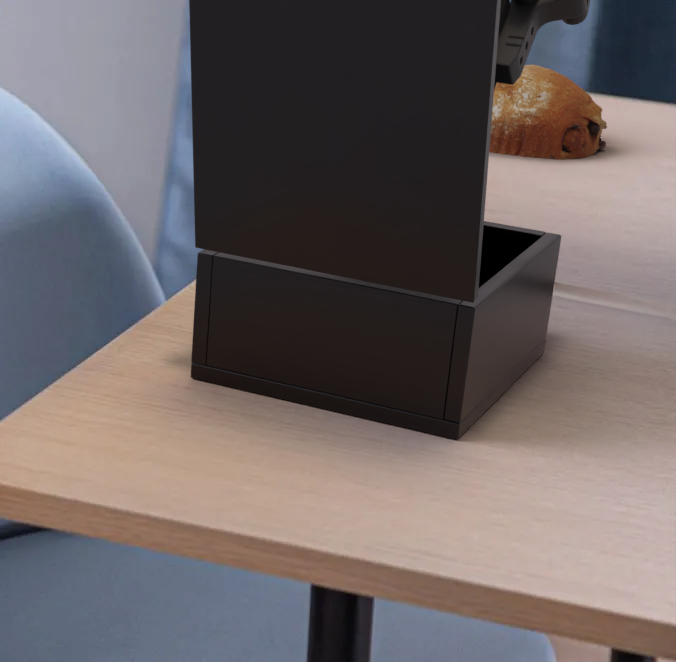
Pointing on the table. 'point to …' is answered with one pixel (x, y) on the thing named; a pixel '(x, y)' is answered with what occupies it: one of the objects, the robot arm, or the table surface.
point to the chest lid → (346, 136)
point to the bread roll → (545, 117)
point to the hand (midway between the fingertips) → (372, 119)
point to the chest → (377, 334)
